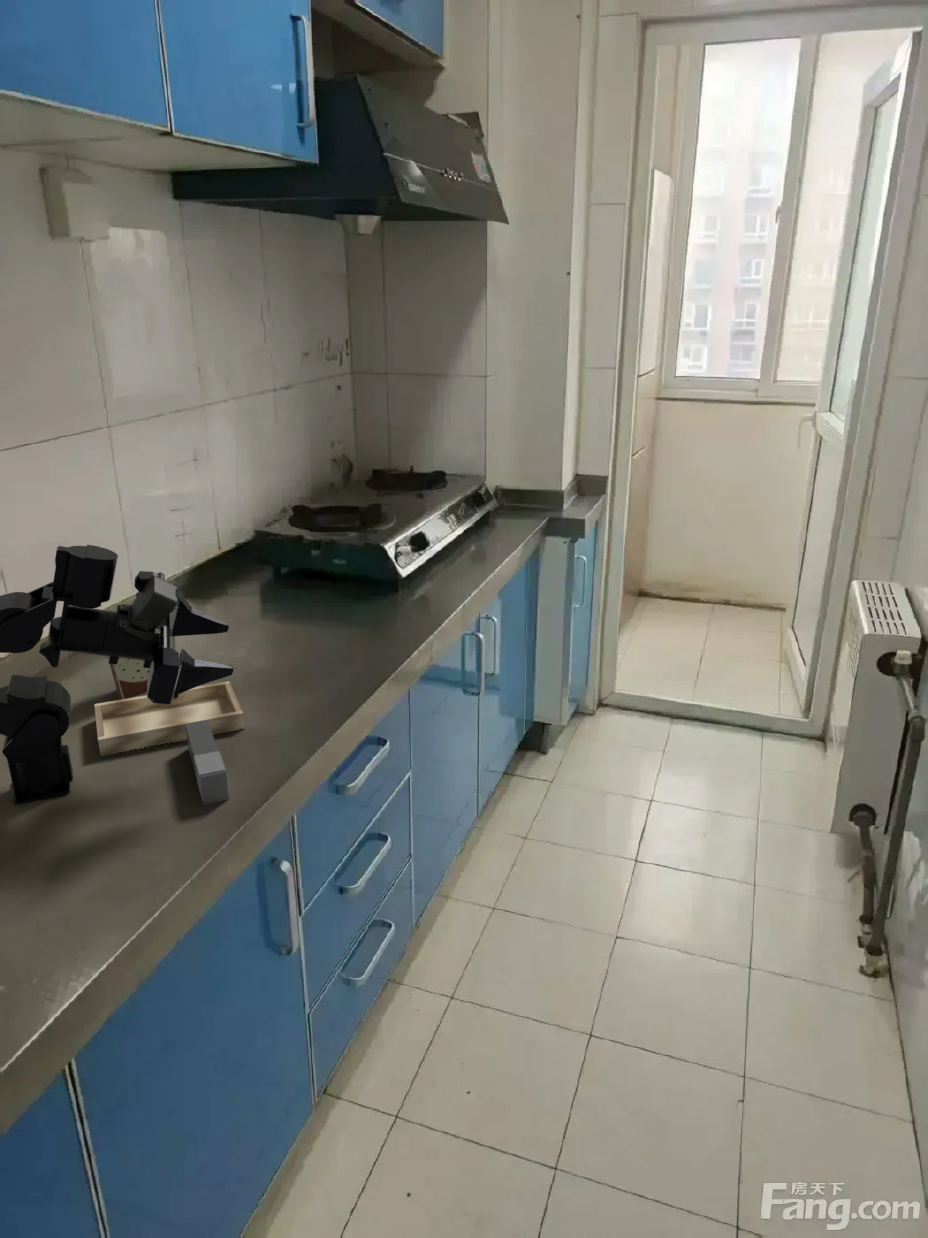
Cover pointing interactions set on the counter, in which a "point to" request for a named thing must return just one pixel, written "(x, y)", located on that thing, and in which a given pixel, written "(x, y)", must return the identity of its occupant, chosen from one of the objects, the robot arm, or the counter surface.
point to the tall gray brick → (207, 763)
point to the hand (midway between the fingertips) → (230, 649)
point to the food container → (132, 675)
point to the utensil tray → (165, 718)
